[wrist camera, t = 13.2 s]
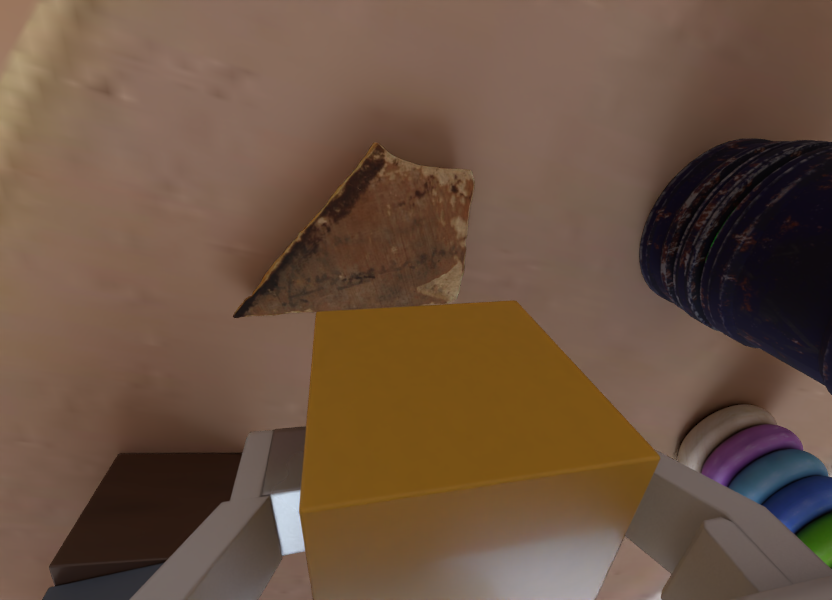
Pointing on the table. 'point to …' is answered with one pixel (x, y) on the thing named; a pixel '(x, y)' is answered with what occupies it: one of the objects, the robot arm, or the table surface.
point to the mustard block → (460, 460)
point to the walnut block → (143, 512)
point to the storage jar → (751, 247)
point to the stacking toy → (765, 470)
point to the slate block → (104, 586)
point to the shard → (375, 243)
